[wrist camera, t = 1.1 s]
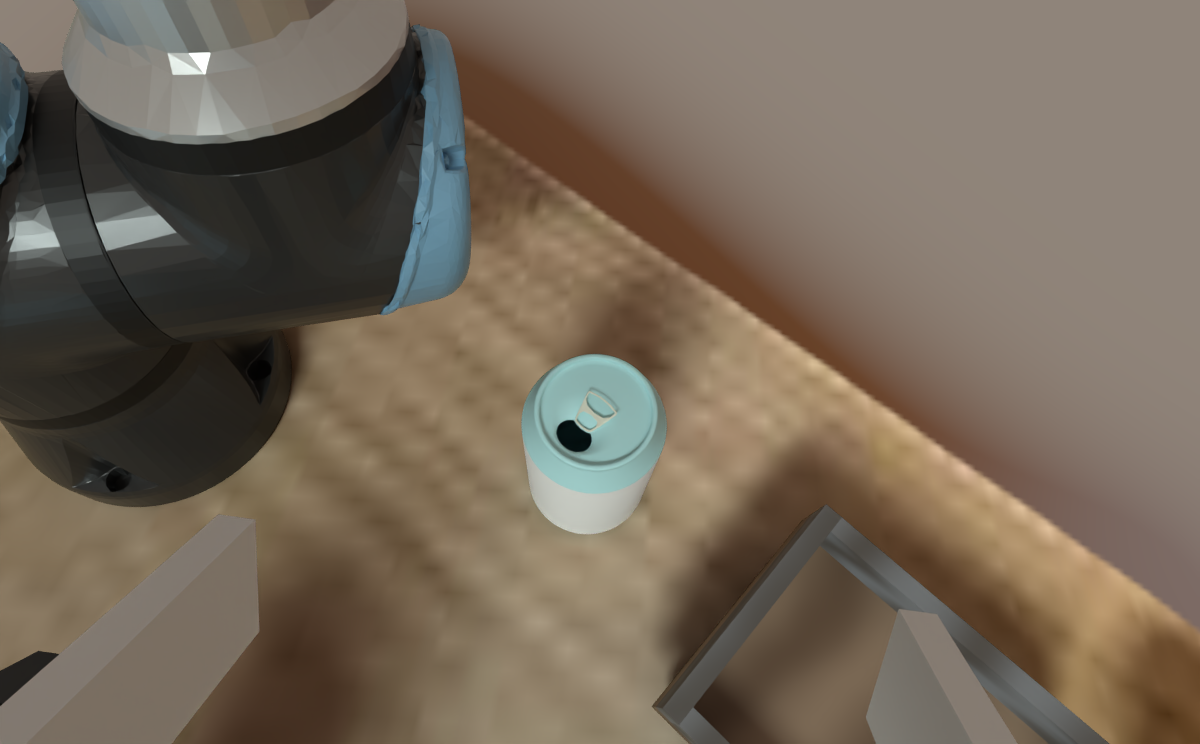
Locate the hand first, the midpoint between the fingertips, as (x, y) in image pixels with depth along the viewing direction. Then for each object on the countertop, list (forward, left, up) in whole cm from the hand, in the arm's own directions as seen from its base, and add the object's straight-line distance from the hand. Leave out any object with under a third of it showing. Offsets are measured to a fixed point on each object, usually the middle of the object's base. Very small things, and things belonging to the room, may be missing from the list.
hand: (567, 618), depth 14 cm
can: (-6, +9, -27) cm, 29 cm away
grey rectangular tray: (+14, +8, -27) cm, 32 cm away
